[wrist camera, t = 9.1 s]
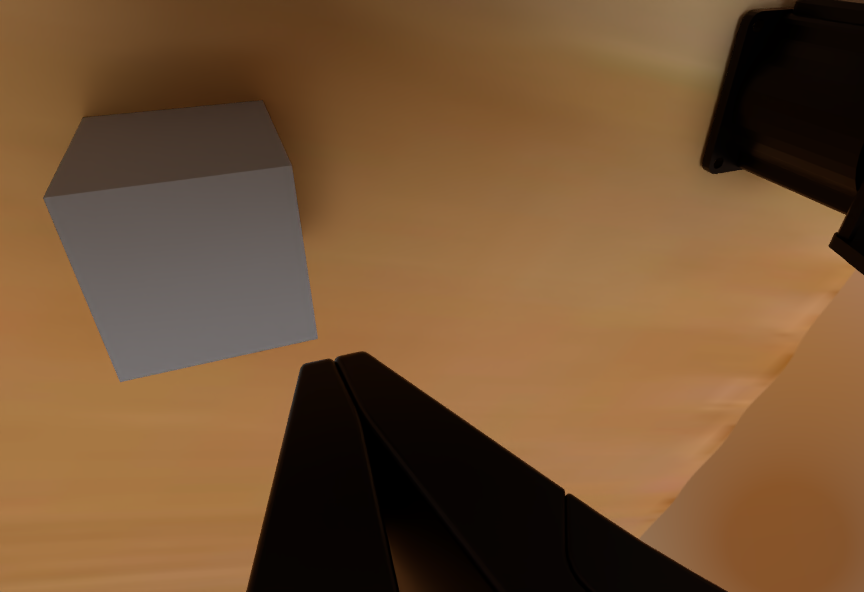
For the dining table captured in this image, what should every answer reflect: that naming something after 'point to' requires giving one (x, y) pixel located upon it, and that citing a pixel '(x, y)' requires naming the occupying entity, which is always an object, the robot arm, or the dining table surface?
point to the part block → (184, 235)
